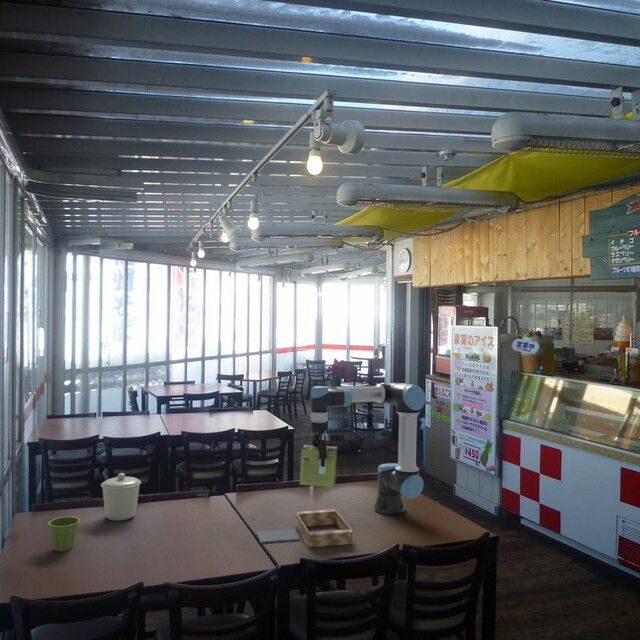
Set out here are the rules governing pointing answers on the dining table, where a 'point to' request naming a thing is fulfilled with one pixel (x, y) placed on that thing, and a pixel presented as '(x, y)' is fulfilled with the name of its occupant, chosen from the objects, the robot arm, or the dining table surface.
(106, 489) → the canister
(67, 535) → the plant pot
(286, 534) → the mat
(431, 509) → the dining table surface
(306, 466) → the protein box
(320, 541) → the open wooden box
